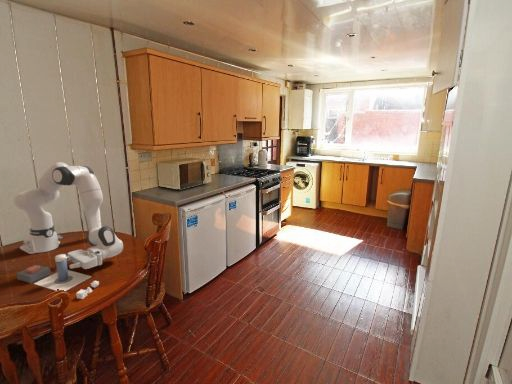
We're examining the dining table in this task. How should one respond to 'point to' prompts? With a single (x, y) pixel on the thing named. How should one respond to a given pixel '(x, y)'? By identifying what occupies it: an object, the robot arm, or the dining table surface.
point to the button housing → (33, 274)
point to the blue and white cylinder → (61, 267)
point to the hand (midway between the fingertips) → (65, 264)
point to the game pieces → (83, 293)
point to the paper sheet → (54, 284)
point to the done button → (33, 269)
